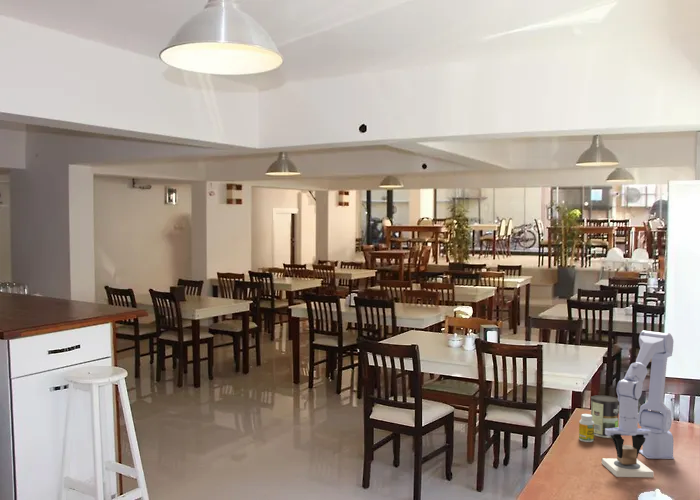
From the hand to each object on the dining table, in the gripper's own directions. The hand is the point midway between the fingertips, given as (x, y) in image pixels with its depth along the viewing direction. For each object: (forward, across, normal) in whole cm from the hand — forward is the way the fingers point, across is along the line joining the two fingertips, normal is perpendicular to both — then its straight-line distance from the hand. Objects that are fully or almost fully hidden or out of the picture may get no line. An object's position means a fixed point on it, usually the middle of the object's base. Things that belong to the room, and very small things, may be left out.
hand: (627, 457), depth 215 cm
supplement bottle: (+5, -2, +31) cm, 31 cm away
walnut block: (+2, 0, 0) cm, 2 cm away
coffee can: (+5, +8, +39) cm, 40 cm away
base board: (+4, 0, 0) cm, 4 cm away
